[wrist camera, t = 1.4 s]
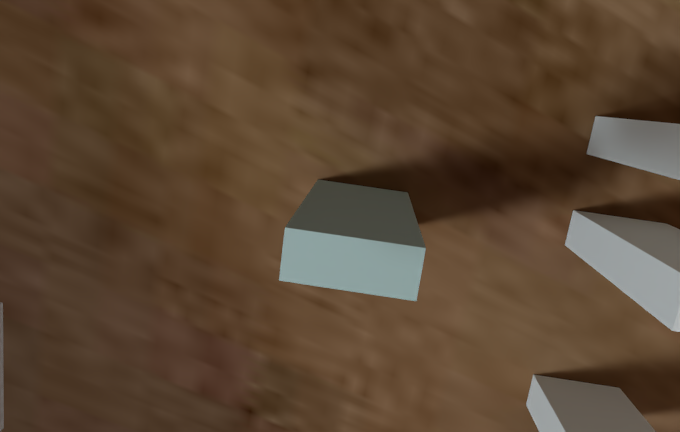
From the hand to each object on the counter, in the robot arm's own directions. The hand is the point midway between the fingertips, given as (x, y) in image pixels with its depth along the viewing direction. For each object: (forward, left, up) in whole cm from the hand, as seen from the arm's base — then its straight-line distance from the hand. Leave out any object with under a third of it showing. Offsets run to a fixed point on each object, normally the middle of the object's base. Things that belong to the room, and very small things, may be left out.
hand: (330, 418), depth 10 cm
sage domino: (0, 0, -20) cm, 20 cm away
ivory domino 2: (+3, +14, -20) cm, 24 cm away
